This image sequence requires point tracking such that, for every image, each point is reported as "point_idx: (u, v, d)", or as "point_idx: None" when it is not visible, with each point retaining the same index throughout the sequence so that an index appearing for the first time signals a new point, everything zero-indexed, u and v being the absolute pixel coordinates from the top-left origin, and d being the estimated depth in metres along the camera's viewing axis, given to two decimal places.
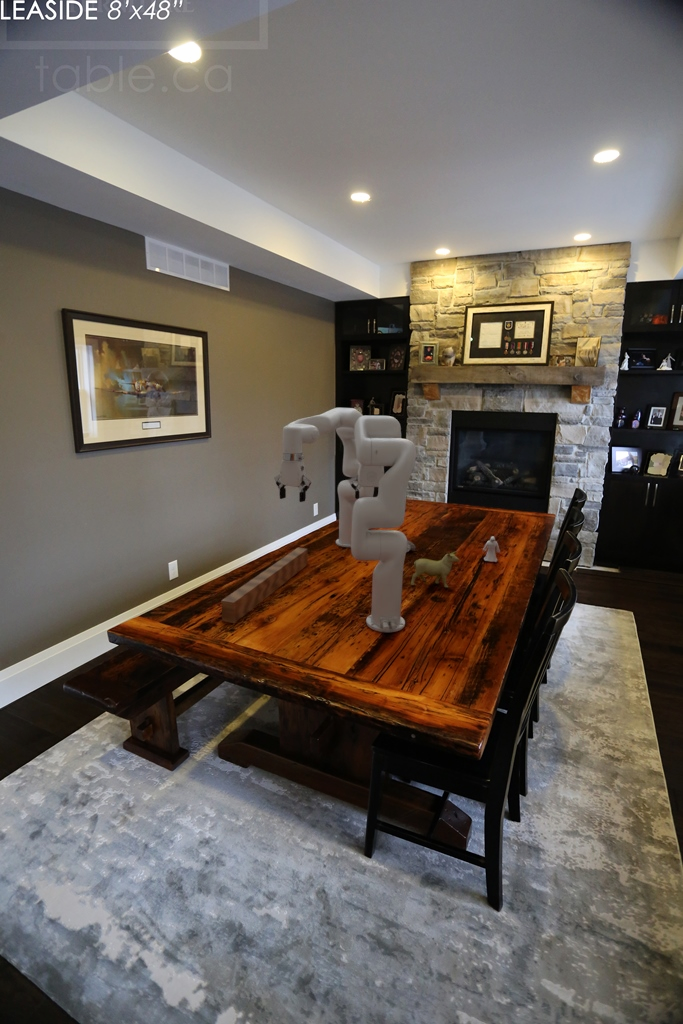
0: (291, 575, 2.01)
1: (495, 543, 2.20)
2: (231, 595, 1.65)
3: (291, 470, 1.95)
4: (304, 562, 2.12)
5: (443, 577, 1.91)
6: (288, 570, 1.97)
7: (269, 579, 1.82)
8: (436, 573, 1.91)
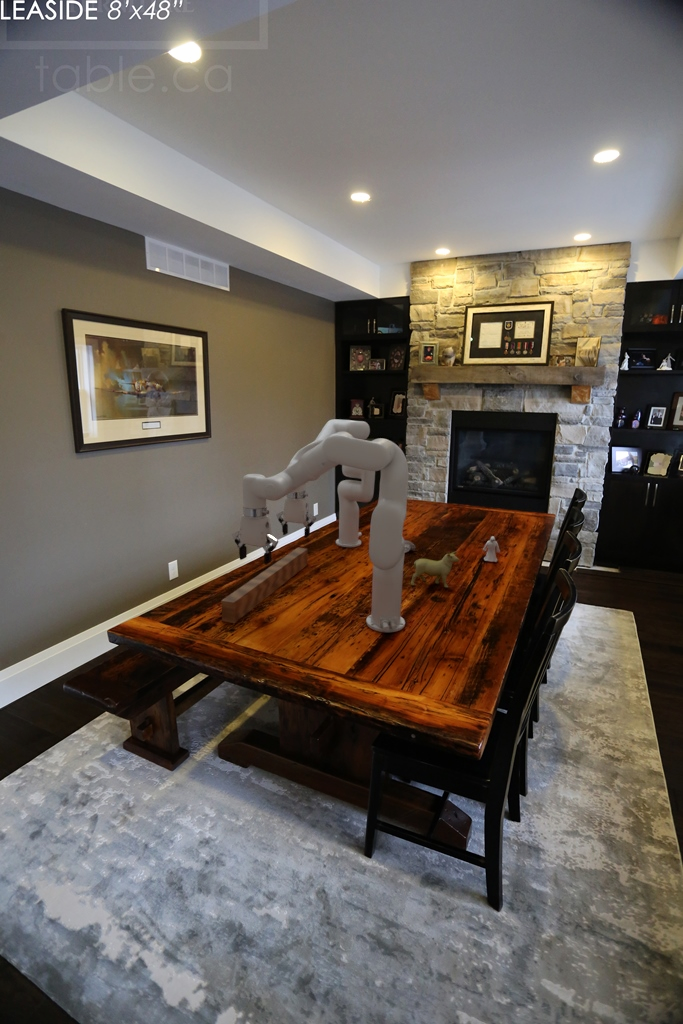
0: (291, 575, 2.01)
1: (495, 543, 2.20)
2: (231, 595, 1.65)
3: (296, 507, 2.00)
4: (304, 562, 2.12)
5: (443, 577, 1.91)
6: (288, 570, 1.97)
7: (269, 579, 1.82)
8: (436, 573, 1.91)
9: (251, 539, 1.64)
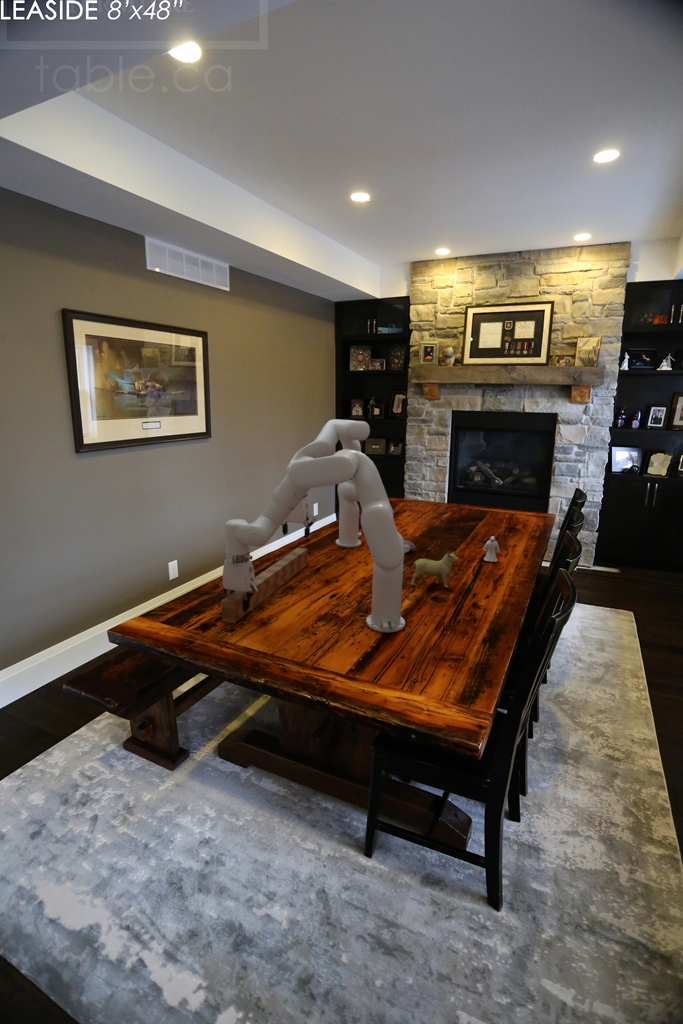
0: (291, 575, 2.01)
1: (495, 543, 2.20)
2: (231, 595, 1.65)
3: (296, 507, 2.00)
4: (304, 562, 2.12)
5: (443, 577, 1.91)
6: (288, 570, 1.97)
7: (269, 579, 1.82)
8: (436, 573, 1.91)
9: (234, 584, 1.63)
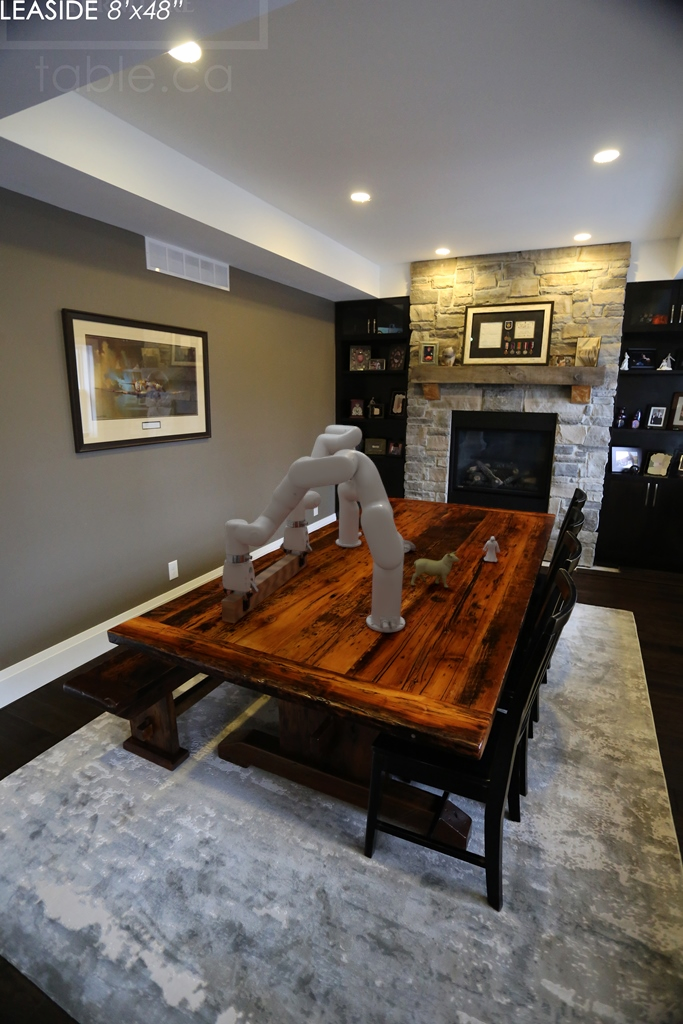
0: (292, 575, 2.01)
1: (495, 543, 2.20)
2: (231, 595, 1.65)
3: (296, 536, 2.03)
4: None
5: (443, 577, 1.91)
6: (288, 571, 1.97)
7: (269, 579, 1.82)
8: (436, 573, 1.91)
9: (234, 584, 1.63)
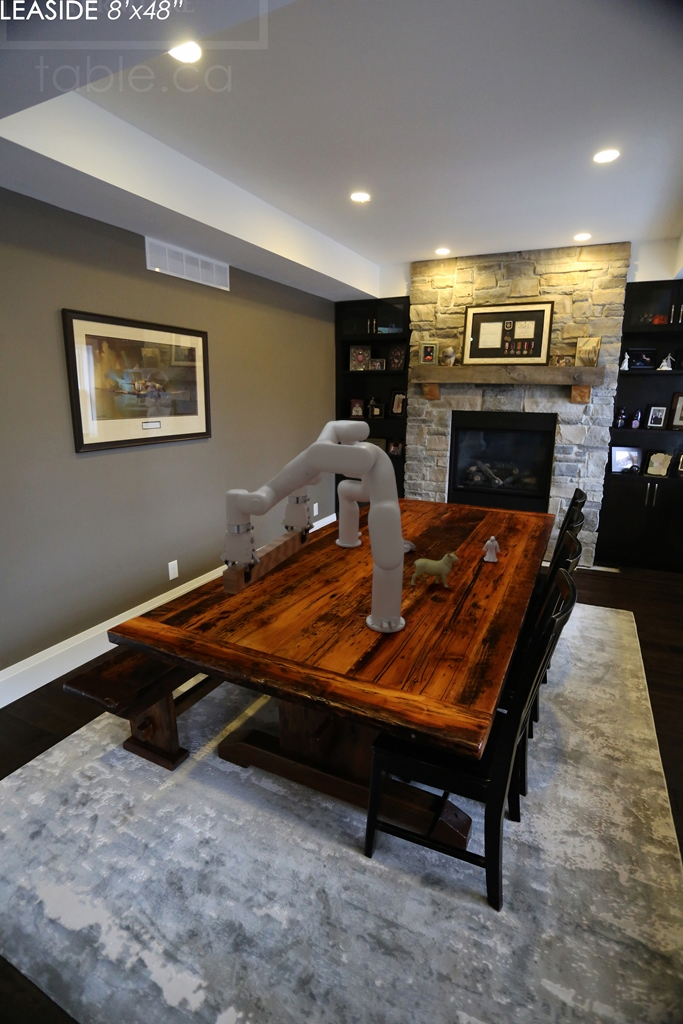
0: (293, 551, 1.99)
1: (495, 543, 2.20)
2: (232, 566, 1.63)
3: (297, 512, 2.01)
4: None
5: (443, 577, 1.91)
6: (290, 546, 1.95)
7: (271, 552, 1.80)
8: (436, 573, 1.91)
9: (236, 555, 1.61)
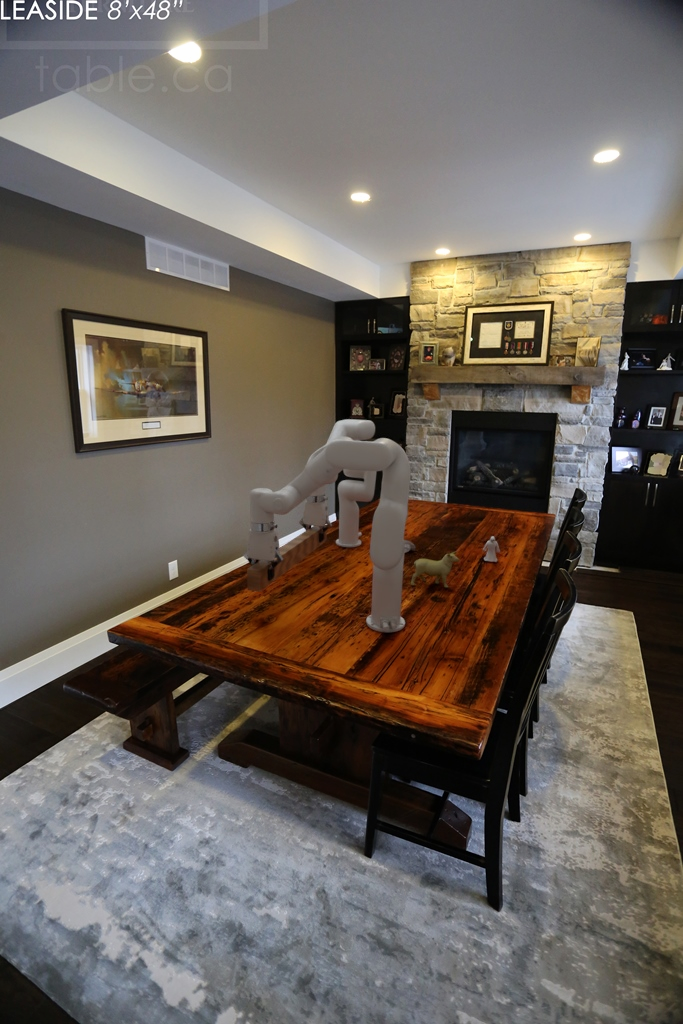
0: (312, 550, 2.01)
1: (495, 543, 2.20)
2: (256, 564, 1.65)
3: (315, 511, 2.04)
4: None
5: (443, 577, 1.91)
6: (309, 545, 1.98)
7: (292, 551, 1.83)
8: (436, 573, 1.91)
9: (259, 553, 1.64)
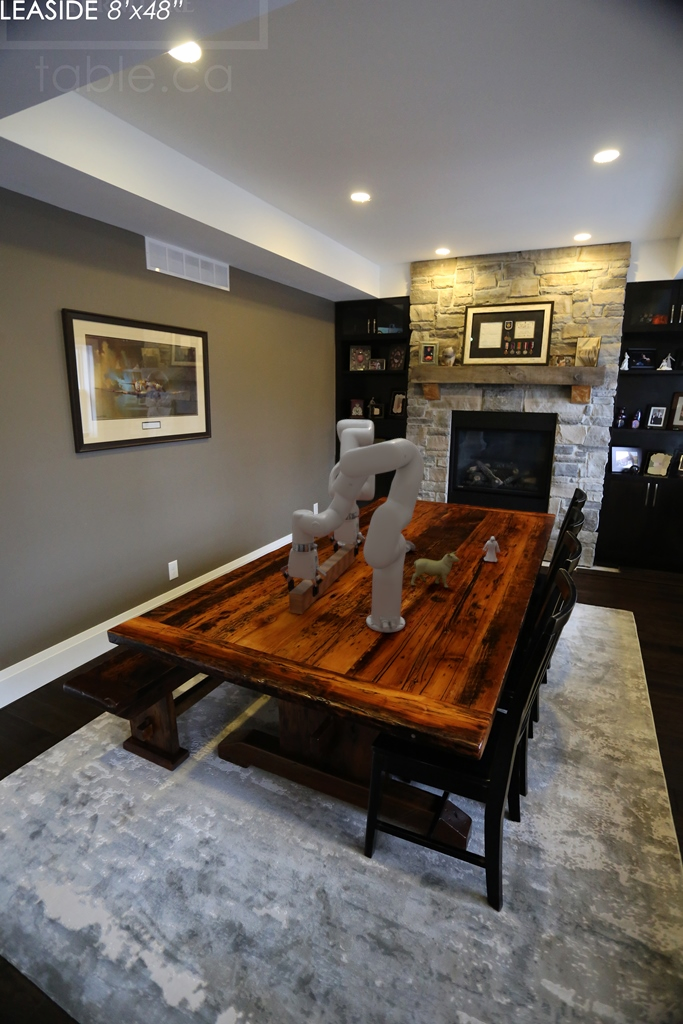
0: (344, 570, 2.08)
1: (495, 543, 2.20)
2: (297, 587, 1.72)
3: (347, 528, 2.10)
4: (353, 557, 2.19)
5: (443, 577, 1.91)
6: (341, 565, 2.05)
7: (328, 572, 1.90)
8: (436, 573, 1.91)
9: (300, 572, 1.70)
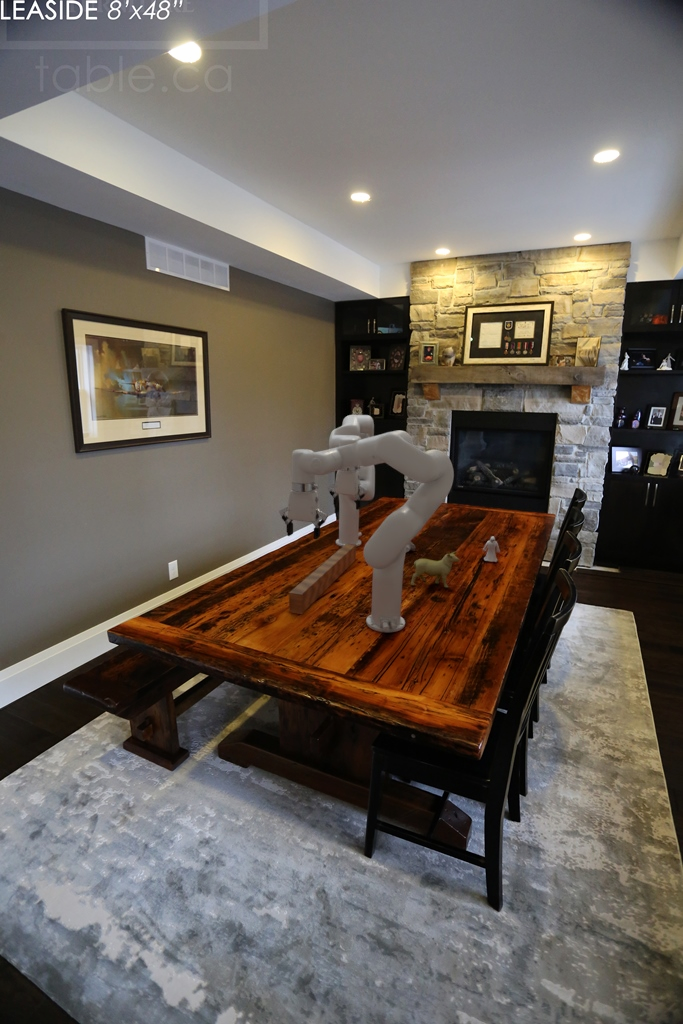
0: (344, 570, 2.08)
1: (495, 543, 2.20)
2: (297, 587, 1.72)
3: (348, 480, 2.05)
4: (353, 557, 2.19)
5: (443, 577, 1.91)
6: (341, 565, 2.05)
7: (328, 572, 1.90)
8: (436, 573, 1.91)
9: (300, 514, 1.65)
